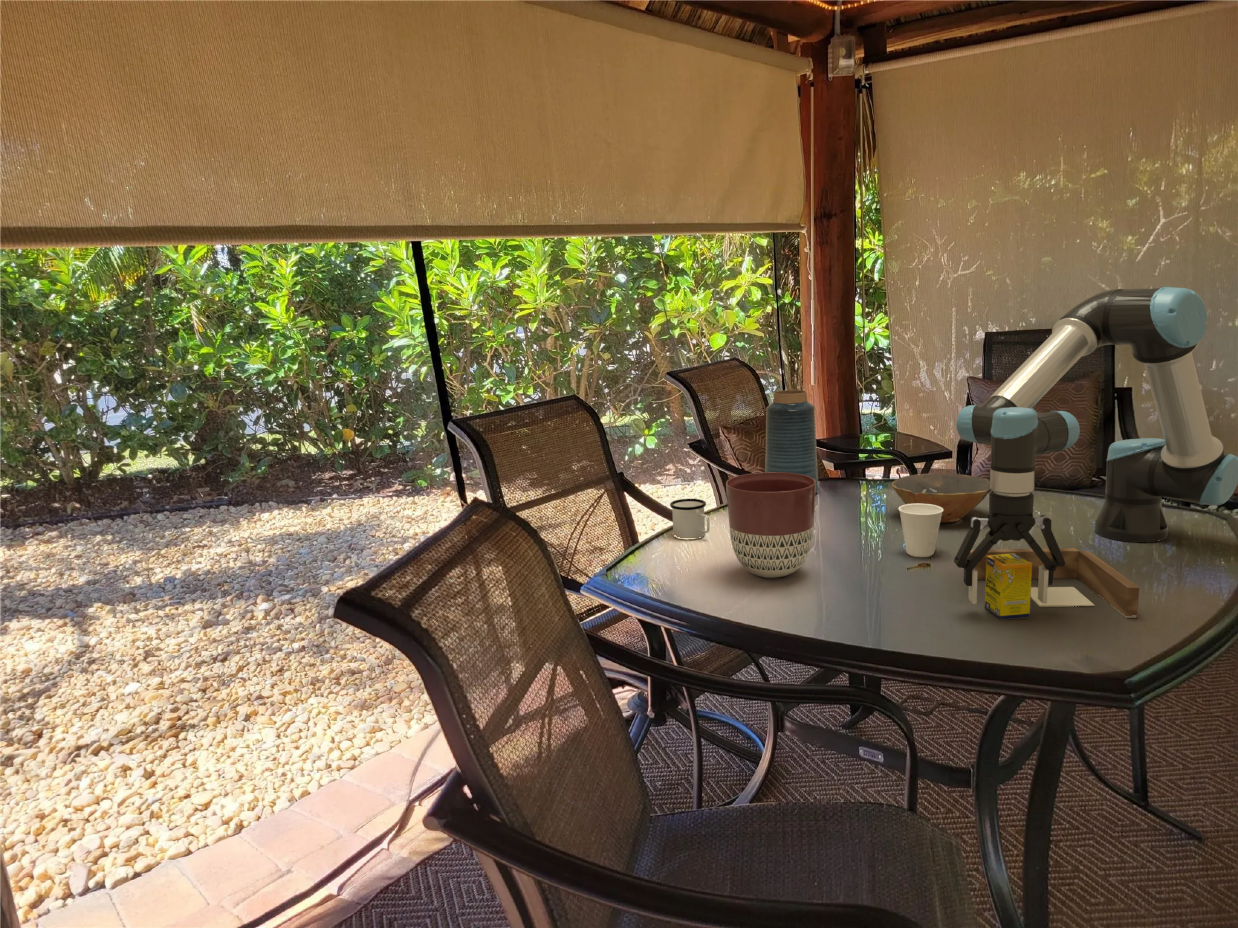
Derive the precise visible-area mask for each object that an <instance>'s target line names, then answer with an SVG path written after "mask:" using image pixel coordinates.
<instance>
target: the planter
mask: <svg viewBox="0 0 1238 928" xmlns="http://www.w3.org/2000/svg"><path fill="white" fill-rule="evenodd" d="M725 487H726V488H725V489H726V490H725V491H726V501H727V502H726V503H727V512H728V515H727V516H728V524H729V533H730V542H731V545H732V549H733V552H734V555H735V557H736V559H737V560H738V562H739V563H740V564H741V565H742V566H743V567H744V568H745V569H746V570H747V571H749V572H750V573H751V574H753V575H757V576H759V577H763V578H766V579H776V578H782V577H783V578H784V577H787V576H789V575H790V574H793V573H795V572H796V571H798V569H800V568H801V567H802V566H803V565H804V563H805V562H806V561H807V559H808V557H809V555H810V553H811V549H812V545H813V539H814V527H815V509H816V507H815V506H816V505H815V503H816V494H815V490H816V481H815V480H814V479H813V478H811V477H809V476H805V475H801V474H795V473H784V472H765V471H764V472H753V473H745V474H741V475H737V476H733V477H731V478H729V479H727V480H726V481H725Z"/></svg>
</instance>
